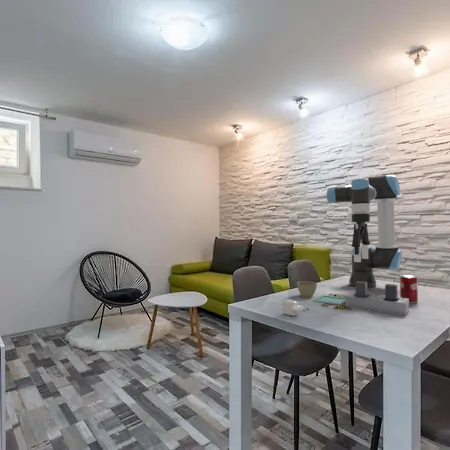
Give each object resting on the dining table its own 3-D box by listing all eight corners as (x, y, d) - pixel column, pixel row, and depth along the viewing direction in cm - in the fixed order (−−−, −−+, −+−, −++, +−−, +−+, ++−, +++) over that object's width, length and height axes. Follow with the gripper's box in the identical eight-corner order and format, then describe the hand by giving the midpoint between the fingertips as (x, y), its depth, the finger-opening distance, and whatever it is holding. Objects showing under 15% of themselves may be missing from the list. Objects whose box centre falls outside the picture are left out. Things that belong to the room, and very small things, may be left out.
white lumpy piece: (310, 317, 128) (310, 302, 128) (304, 320, 125) (303, 305, 125) (287, 312, 136) (287, 298, 136) (281, 314, 133) (280, 300, 133)
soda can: (398, 301, 151) (398, 276, 151) (402, 299, 157) (402, 274, 157) (415, 304, 146) (415, 278, 146) (419, 301, 152) (419, 276, 152)
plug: (358, 302, 146) (358, 281, 146) (367, 304, 144) (367, 282, 144) (356, 304, 143) (355, 282, 143) (365, 306, 141) (365, 283, 141)
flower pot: (309, 300, 157) (309, 285, 157) (293, 296, 165) (293, 283, 165) (320, 296, 164) (320, 283, 164) (304, 293, 171) (304, 280, 171)
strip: (356, 298, 159) (356, 276, 159) (411, 305, 145) (411, 281, 145) (345, 307, 143) (344, 282, 143) (405, 315, 129) (405, 288, 129)
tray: (322, 296, 164) (322, 294, 164) (348, 300, 156) (348, 298, 156) (313, 301, 153) (312, 300, 153) (340, 305, 146) (340, 303, 146)
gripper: (358, 213, 155) (359, 257, 156) (343, 213, 135) (344, 262, 136) (375, 213, 151) (376, 257, 151) (362, 212, 131) (363, 264, 131)
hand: (361, 260), depth 143 cm, fingers open, 13 cm apart
